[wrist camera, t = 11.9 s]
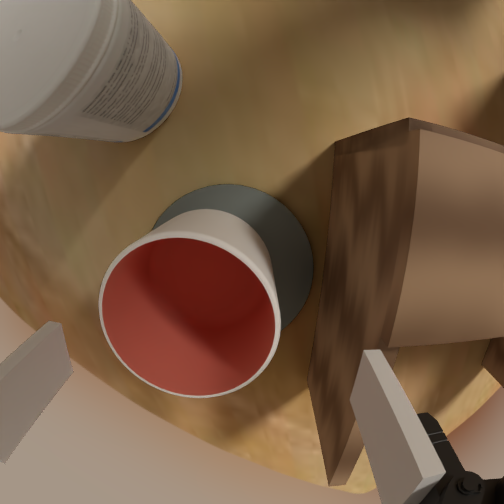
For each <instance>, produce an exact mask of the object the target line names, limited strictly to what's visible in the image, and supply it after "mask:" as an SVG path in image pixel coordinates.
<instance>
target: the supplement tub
mask: <svg viewBox="0 0 504 504" xmlns="http://www.w3.org/2000/svg"><path fill="white" fill-rule="evenodd" d="M181 88H182V69H181V65H180V62H179V60H178V57H177V56H176V54H175V53H174V51H173V50H172V49H171V47H170V46H169V45H168V44H167V42H166V41H165V40H164V39H163V38H162V36H161V35H160V34H159V33H158V32H157V30H156V29H155V28H154V27H153V26H152V24H151V23H150V22H149V21H148V20H147V19H146V17H145V16H144V15H143V14H142V13H141V11H140V10H139V9H138V8H137V7H136V6H135V4H134V3H133V2H132V1H131V0H0V131H2V132H5V133H11V134H28V135H43V136H57V137H68V138H79V139H89V140H99V141H107V142H129V141H134V140H137V139H140V138H142V137H144V136H146V135H148V134H149V133H151V132H152V131H154V130H155V129H156V128H157V127H159V126H160V125H161V124H162V123H163V122H164V121H165V120H166V119H167V117H168V116H169V115H170V113H171V112H172V111H173V109H174V107H175V106H176V103H177V101H178V99H179V96H180V93H181Z"/></svg>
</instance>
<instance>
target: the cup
mask: <svg viewBox="0 0 504 504" xmlns="http://www.w3.org/2000/svg"><path fill="white" fill-rule="evenodd" d="M99 316H100V322H101V326H102V329H103V332H104V335H105V338H106V340H107V342H108V344H109V346H110V347H111V349H112V351H113V352H114V354H115V355H116V356H117V358H118V359H119V360H120V361H121V363H122V364H123V365H124V366H125V367H126V368H127V369H128V370H129V371H130V372H131V373H133V374H134V375H135V376H136V377H138V378H139V379H141V380H142V381H144V382H145V383H147V384H149V385H150V386H152V387H154V388H156V389H159V390H161V391H164V392H166V393H170V394H173V395H177V396H182V397H189V398H209V397H216V396H221V395H225V394H228V393H231V392H234V391H236V390H238V389H240V388H242V387H244V386H246V385H247V384H249V383H250V382H252V381H253V380H254V379H255V378H257V377H258V376H259V375H260V374H261V373H262V372H263V371H264V369H265V368H266V367H267V366H268V364H269V363H270V361H271V359H272V357H273V356H274V353H275V351H276V349H277V346H278V342H279V338H280V331H281V317H280V309H279V303H278V297H277V291H276V286H275V280H274V274H273V269H272V263H271V258H270V255H269V252H268V250H267V247H266V245H265V244H264V242H263V240H262V239H261V237H260V236H259V235H258V233H257V232H256V231H255V230H254V229H253V228H252V227H251V226H250V225H249V224H247V223H246V222H245V221H243V220H242V219H240V218H238V217H236V216H235V215H232V214H230V213H227V212H224V211H220V210H214V209H198V210H192V211H188V212H185V213H182V214H180V215H178V216H176V217H174V218H172V219H171V220H169V221H167V222H166V223H164V224H162V225H161V226H159V227H157V228H156V229H154V230H153V231H151V232H149V233H148V234H146V235H145V236H143V237H142V238H140V239H138V240H137V241H135V242H134V243H132V244H131V245H129V246H128V247H126V248H125V249H124V250H123V251H122V252H121V253H120V254H119V255H118V256H117V257H116V258H115V259H114V260H113V262H112V263H111V265H110V266H109V268H108V270H107V271H106V273H105V276H104V278H103V281H102V284H101V288H100V292H99Z"/></svg>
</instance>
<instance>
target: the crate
mask: <svg viewBox="0 0 504 504" xmlns="http://www.w3.org/2000/svg"><path fill="white" fill-rule="evenodd" d="M490 338H492V339H491V342H490V344H489V347H488V350H487V352H486V355H485V357H484V360H483V362H482V366H483V367H484V368H485V369H486V370H487V371H488V372H489V373H490V374H491V375H492V376H493V377H494V378H495V379H496V380H497V381H498V382H499V383H500V384H501V386H503V388H504V146H503V145H500V144H497V143H495V142H492V141H489V140H486V139H483V138H480V137H477V136H474V135H471V134H468V133H465V132H461V131H458V130H455V129H451V128H448V127H444V126H441V125H437V124H433V123H429V122H426V121H422V120H417V119H413V118H406V119H402V120H399V121H396V122H393V123H389V124H386V125H383V126H380V127H377V128H374V129H371V130H368V131H365V132H362V133H359V134H356V135H353V136H350V137H347V138H344V139H341V140H339V141H336V142H335V151H334V168H333V182H332V195H331V207H330V218H329V229H328V238H327V248H326V257H325V265H324V273H323V281H322V289H321V296H320V304H319V311H318V317H317V324H316V331H315V337H314V343H313V349H312V355H311V361H310V366H309V372H308V378H307V382H308V387H309V391H310V396H311V401H312V406H313V410H314V415H315V420H316V425H317V430H318V434H319V439H320V444H321V449H322V454H323V459H324V464H325V469H326V475H327V480H328V485H329V486H338V485H346V483H347V481H348V479H349V477H350V475H351V473H352V470H353V468H354V466H355V464H356V462H357V460H358V458H359V456H360V453H361V451H362V449H363V447H364V442H363V439H362V436H361V433H360V430H359V427H358V424H357V421H356V418H355V414H354V411H353V408H352V405H351V402H350V397H351V393H352V390H353V387H354V383H355V380H356V376H357V373H358V369H359V365H360V362H361V358H362V354H363V350H379V349H380V350H381V351H382V353H383V355H384V357H385V358H386V360H387V362H388V364H389V365H390V367H391V369H392V370H393V367H394V364H395V361H396V358H397V354H398V351H399V347H406V346H421V345H434V344H446V343H456V342H465V341H474V340H482V339H490Z"/></svg>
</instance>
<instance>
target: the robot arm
mask: <svg viewBox="0 0 504 504" xmlns="http://www.w3.org/2000/svg"><path fill="white" fill-rule="evenodd" d="M72 373H73V368H72V365H71V361H70V357H69V354H68V350H67V346H66V342H65V338H64V333H63V329H62V324H61V323H57V322H53V321H48V322H47V323H46V324H44V325H43V326H42V327H41V328H40V329H39V330H37V331H36V332H35V333H34V334H33V335H32V336H31V337H30V338H28V339H27V340H26V341H25V342H24V343H23V344H21V345H20V346H19V347H18V348H17V349H16V350H15V351H14V352H13V353H11V354H10V355H9V356H8V357H7V358H6V359H5V360H4V361H3V362H2V363H1V364H0V461H1V462H3V463H4V464H5V463H6V461H7V460H8V458H9V457H10V455H11V454H12V452H13V451H14V450H15V448H16V447H17V446H18V444H19V443H20V441H21V440H22V438H23V437H24V436H25V434H26V433H27V432H28V430H29V429H30V428H31V426H32V425H33V424H34V422H35V421H36V420H37V418H38V417H39V415H40V414H41V413H42V412H43V410H44V409H45V407H46V406H47V405H48V404H49V402H50V401H51V400H52V398H53V397H54V396H55V395H56V393H57V392H58V391H59V389H60V388H61V387H62V386H63V384H64V383H65V382H66V381H67V379H68V378H69V377H70V376H71V374H72ZM350 402H351V405H352V408H353V411H354V414H355V418H356V421H357V424H358V427H359V430H360V433H361V436H362V439H363V442H364V446H365V449H366V452H367V455H368V459H369V462H370V465H371V468H372V472H373V475H374V478H375V482H376V485H377V489H378V492H379V496H380V499H381V502H382V504H504V476H503V478H501V479H488V480H483V479H481V477H480V476H479V475H477V474H475V473H473V472H469V471H465V470H464V468H463V466H462V465H461V463H460V461H459V459H458V457H457V455H456V453H455V452H454V450H453V448H452V446H451V445H450V442H449V441H447V437H446V435H445V434H444V433H443V430H442V428H441V427H440V425H439V423H438V421H437V420H436V419H435V418H433V417H432V416H431V415H430V414H429V413H427V412H426V413H420V414H416V412H415V410H414V408H413V407H412V405H411V403H410V401H409V399H408V397H407V396H406V394H405V392H404V390H403V388H402V387H401V385H400V383H399V381H398V379H397V378H396V376H395V374H394V372H393V371H392V369H391V367H390V365H389V364H388V362H387V360H386V358H385V357H384V355H383V353H382V351H381V350H380V349H379V350H363V354H362V358H361V362H360V365H359V369H358V373H357V376H356V380H355V383H354V387H353V390H352V393H351V397H350Z"/></svg>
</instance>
